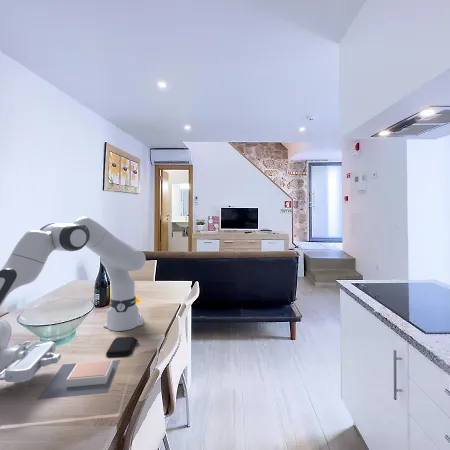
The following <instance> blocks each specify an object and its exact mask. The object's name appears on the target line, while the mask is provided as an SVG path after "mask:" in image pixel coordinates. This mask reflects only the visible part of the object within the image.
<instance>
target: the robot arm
mask: <svg viewBox="0 0 450 450" xmlns="http://www.w3.org/2000/svg"><path fill="white" fill-rule="evenodd" d="M84 247H86V248H88V249H89V250H90V251H92V252H93V253H95V255H97V256H99V261H100V264H102V265H103V267H104V268H105V270H106V273H107V275H108V278H109V281H110V295H111V296H110V300H109V305H110V307H109V308H108V309H107V311H106V322H105V323H104V324H103V326H102V327H103V328H106V329H108V330H110V331H114V332H115V331H117V332H121V331H129V330H132V329H134V328H137V327H140V326H142V325H144V321H143V317H142V314H141V313H140V312H139V308H138V305H137V304H136V303H137V298H136V290H135V289H136V288H135V287H136V285H135V280H134V278H133V277H132V276H131V275H130V273H129V272H133V271H134V272H135V271H140V270H142V269H143V267H144V266H145V265H146V259H147V258H146V254H145V253H144V251H142V250H139V249H137V248H135V247H133V246H132V245H130V244H129V243H127V242H125V241H124V240H121V239H119V238H118V237H116V236H115V235H114V234H112V232H110V231H109V230H108V229H106V228H105V227H104V226H102V224H100V223H99V222H97V221H96V220H94V219H92V218H90V217H89V216H81V217H78V218H76V220H74V221H73V223H67V222H61V223H48V224H46V225H44V226H42V227H41V228H40V229H39V230H38V229H31V230H28V231H26V232H25V233H24V235H23V236H22V237H21V238H20V239H19V241H18V242H17V243H16V245H15V246H14V248H13V249H12V251H11V253H10V255H9V257H8V259H7V260H6V262H5V264H4V265H3V266H2V268H1V269H0V308H1V306H3V303H4V302H5V301H6V299H7V297H8V296H9V295H10V293H12V292H14V290H16V289H18V288H20V287H22V286H27V285H28V284H31V283H33V282H36V279H38V277H39V276H40V275H41V273H42V271H43V268H44V267H45V265H46V263H47V260H48V258H49V256H50V254H51V253H52V252H53V251H59V252H60V251H61V252H65V251H66V252H75V251H76V252H77V251H79V250H82V249H83V248H84ZM11 336H12V327H11V325H10V323H9V321H6V320H4V319H0V381H5V382H6V383H25V382H26V383H27V382H28V381H31V380H32V378H33V377H34V376H35V375H36V373H38V372H39V370H41V368H42V367H47V366H49V365H52V364H57V363H58V362H59V361H60V360H61V358H62V355H61V353H55V352H56V342H54V341H51V340H50V341H46V340H45V341H33V342H32V341H31V340H26V341H23V342H21V343H19V344H16V345H13V346H10V347H8V345H9V341H10V339H11Z"/></svg>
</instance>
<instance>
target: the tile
mask: <svg viewBox="0 0 450 450" xmlns="http://www.w3.org/2000/svg"><path fill="white" fill-rule="evenodd" d="M113 361H114V360H104V361H103V360H101V361H92V362H91V361H90V362H78V363H77V364H76V366H75V367H74V369H73V370H72V372H71V373H70V375H69V376H68V378H67V379H66V386H67V387H73V386H85V385H96V384H106V383H107V380H108V378H109V375H110V373H111V371H112V368H113Z"/></svg>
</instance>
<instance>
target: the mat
mask: <svg viewBox="0 0 450 450" xmlns="http://www.w3.org/2000/svg"><path fill="white" fill-rule="evenodd" d="M112 361H113V368H112V371H111V373H110V375H109V378H108V380H107V383H106V384H96V385H85V386H73V387H67V386H66V379H67V378H68V376H69V375H70V373H71V372H72V370H73V369H74V367H75V366H76V364H77V363H65V364H62V365H61V366H60V367H59V369H58V370H57V372H56V373H55V374H54V376H53V377H52V379H51V380H50V381H49V383H47V385H46V386H45V388H44V389H43V390H42V392H41V393H40V394H39V396H38V397H37V400H43V399H45V400H46V399H53V398H56V399H57V398H64V397H65V398H66V397H74V396H75V397H77V396H84V395H85V396H89V395H95V394H96V395H97V394H107V393H108V392H109V390H110V387H111V386H112V385H111V384H112V382H113V379H114V378H115V377H114V376H115V375H116V372H117V370H118V366H119V364H120V361H121V359H116V360H115V359H114V360H112Z"/></svg>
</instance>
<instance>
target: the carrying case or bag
mask: <svg viewBox="0 0 450 450" xmlns="http://www.w3.org/2000/svg"><path fill="white" fill-rule="evenodd" d="M138 344H139V341H138V339H137V338H136V337H134V336H122V337H121V336H120V337H116V338H114V340H112V342H111V344H110V346H109V348H108V349H107V351H106V353H105V356H106V357H108V358H117V357H119V358H120V357H128V356H130V355H132V354H133V351H134V348H135V346H136V345H138Z"/></svg>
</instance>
